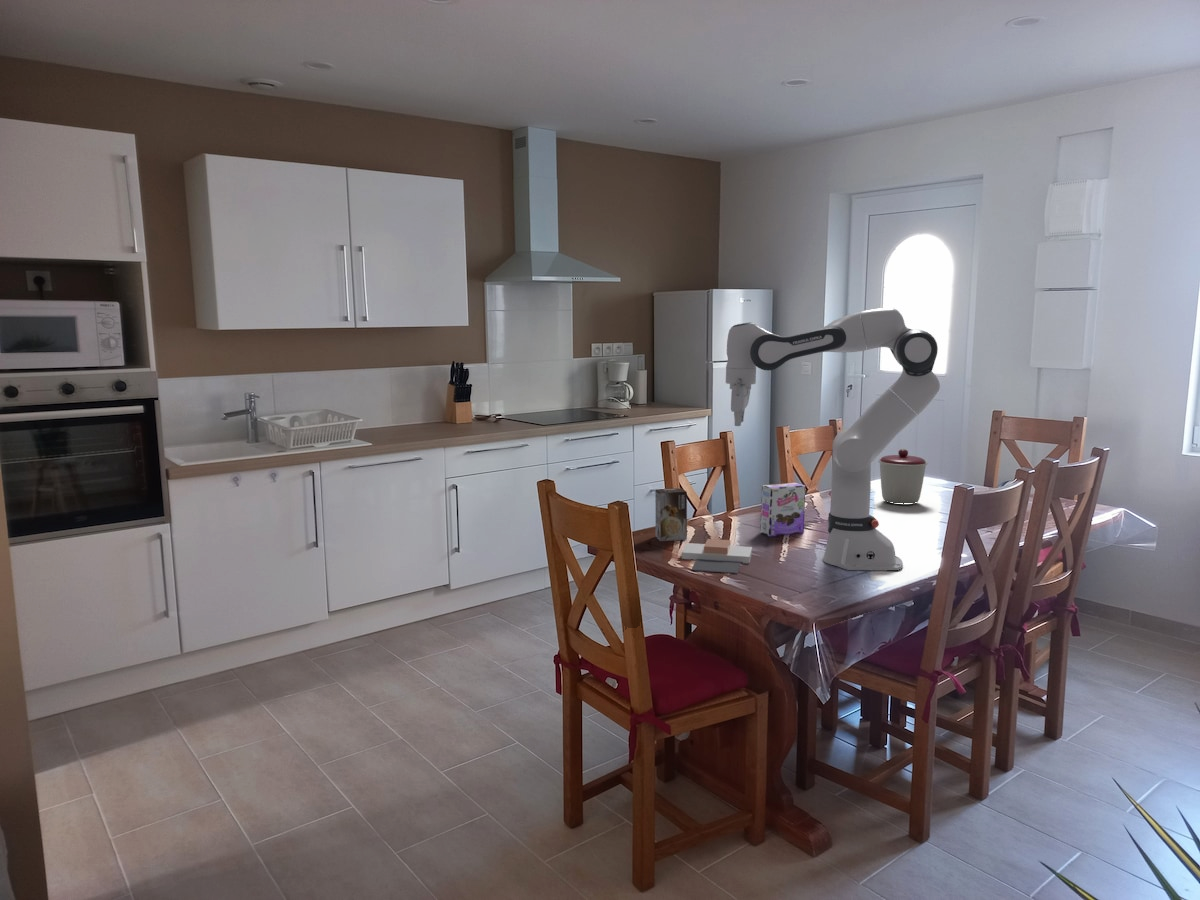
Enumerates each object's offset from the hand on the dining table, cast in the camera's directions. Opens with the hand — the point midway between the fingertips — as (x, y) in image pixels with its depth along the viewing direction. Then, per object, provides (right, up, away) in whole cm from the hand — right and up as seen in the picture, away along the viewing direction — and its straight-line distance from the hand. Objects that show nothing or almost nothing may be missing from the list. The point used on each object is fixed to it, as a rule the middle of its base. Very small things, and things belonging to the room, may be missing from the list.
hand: (739, 424), depth 256 cm
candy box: (+19, -36, +30) cm, 51 cm away
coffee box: (-18, -37, +23) cm, 47 cm away
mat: (-8, -42, -9) cm, 43 cm away
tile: (-6, -38, +2) cm, 38 cm away
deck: (-6, -40, +2) cm, 40 cm away
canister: (+75, -29, +77) cm, 111 cm away
